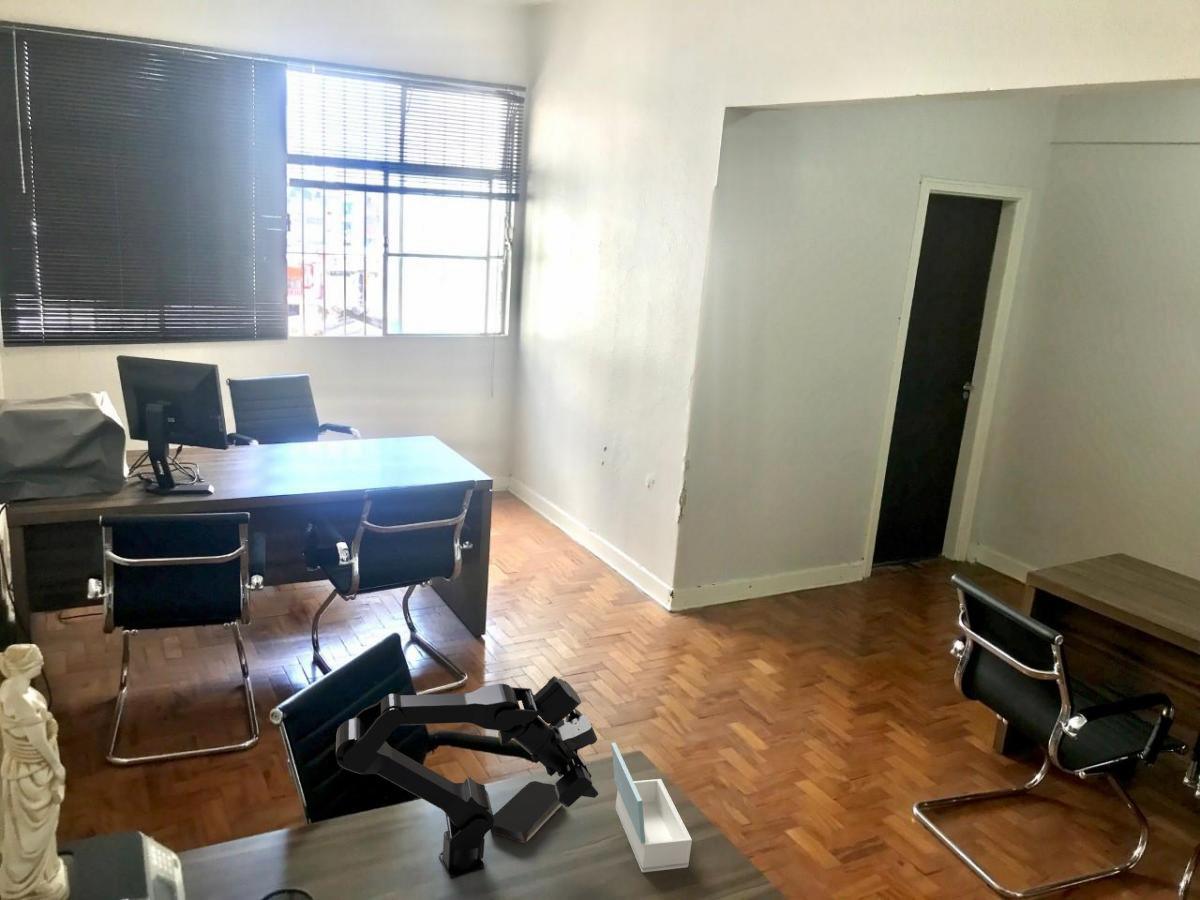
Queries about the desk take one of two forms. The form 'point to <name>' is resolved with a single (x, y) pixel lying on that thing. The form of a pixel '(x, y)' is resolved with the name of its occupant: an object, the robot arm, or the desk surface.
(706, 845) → the desk surface
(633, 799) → the cover
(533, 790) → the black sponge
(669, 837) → the white lidded box
